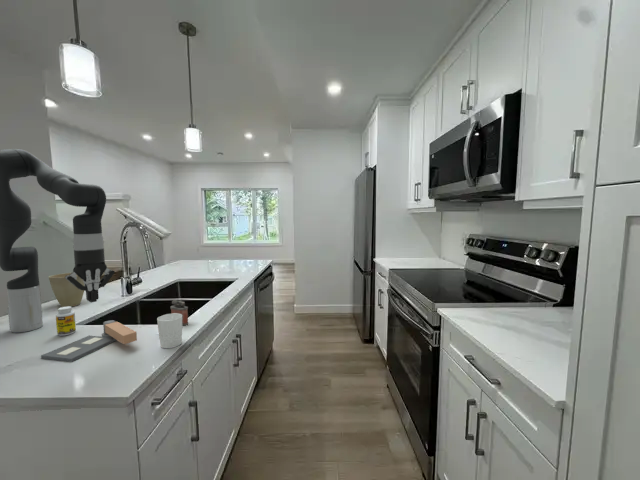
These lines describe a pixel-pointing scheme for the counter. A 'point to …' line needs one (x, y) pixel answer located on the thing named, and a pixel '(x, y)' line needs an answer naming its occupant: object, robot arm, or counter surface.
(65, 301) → the plant pot
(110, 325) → the swing bar
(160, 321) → the white cup
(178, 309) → the lighter
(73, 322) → the supplement bottle
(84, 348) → the gray base panel
